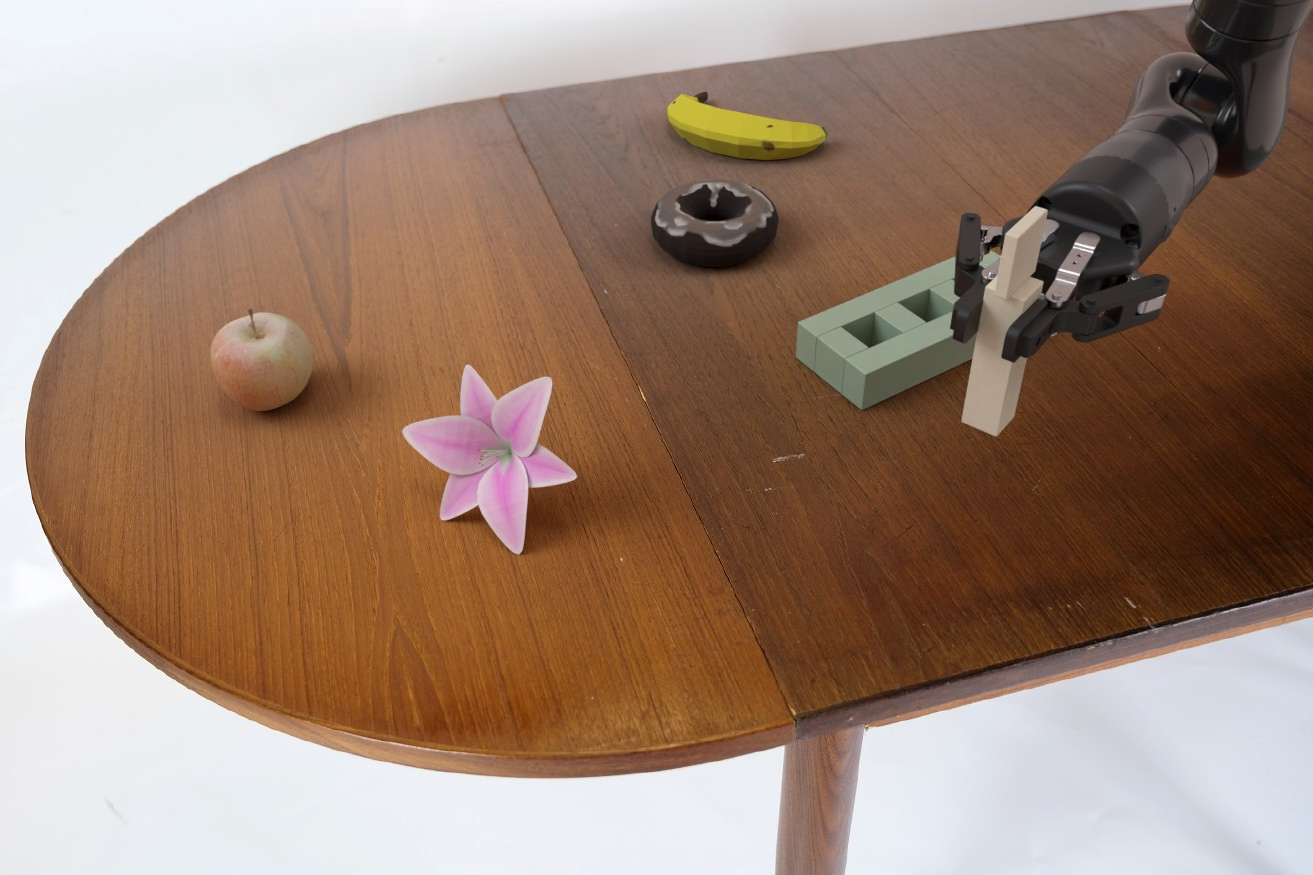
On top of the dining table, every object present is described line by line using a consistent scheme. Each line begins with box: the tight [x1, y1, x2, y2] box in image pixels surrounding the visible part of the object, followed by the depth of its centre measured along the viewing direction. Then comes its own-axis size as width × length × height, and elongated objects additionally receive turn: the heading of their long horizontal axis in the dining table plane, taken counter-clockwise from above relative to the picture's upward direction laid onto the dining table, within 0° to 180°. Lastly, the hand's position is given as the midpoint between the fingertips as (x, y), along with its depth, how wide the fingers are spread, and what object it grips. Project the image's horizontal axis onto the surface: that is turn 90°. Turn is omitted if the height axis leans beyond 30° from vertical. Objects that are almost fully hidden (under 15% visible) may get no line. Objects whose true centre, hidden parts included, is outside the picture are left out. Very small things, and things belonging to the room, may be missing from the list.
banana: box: [666, 91, 828, 161], centre depth 121 cm, size 5×17×15 cm
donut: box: [650, 178, 780, 267], centre depth 104 cm, size 12×12×4 cm
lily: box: [401, 364, 578, 555], centre depth 78 cm, size 12×12×10 cm
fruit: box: [209, 308, 314, 412], centre depth 87 cm, size 8×7×8 cm
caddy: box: [795, 249, 1045, 411], centre depth 91 cm, size 8×20×4 cm, turn 122°
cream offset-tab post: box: [961, 206, 1048, 437], centre depth 65 cm, size 2×4×14 cm, turn 141°
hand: (985, 337), depth 63 cm, fingers closed on cream offset-tab post, 2 cm apart
